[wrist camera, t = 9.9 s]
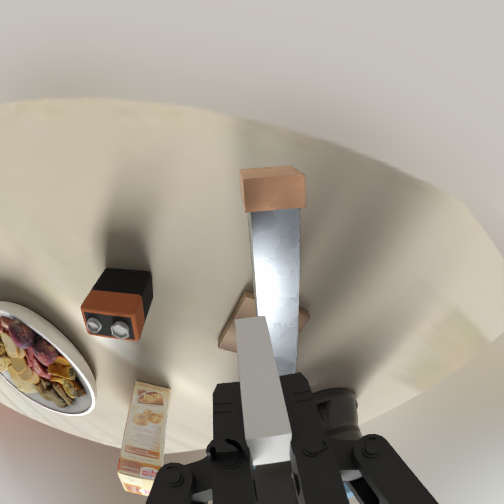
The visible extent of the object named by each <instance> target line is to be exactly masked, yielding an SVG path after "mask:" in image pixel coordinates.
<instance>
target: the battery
mask: <svg viewBox="0 0 504 504" xmlns="http://www.w3.org/2000/svg"><path fill="white" fill-rule="evenodd" d="M152 299H153V291H152V279H151V273H150V272H147V271H134V270H122V269H109V268H107V269H105V270H104V272H103V273H102V275H101V276H100V278H99V279H98V280H97V282H96V283H95V285H94V286H93V288H92V290H91V291H90V293H89V294H88V296H87V297H86V299H85V300H84V302H83V304H82V305H81V311H82V315H83V319H84V322H85V325H86V329H87V332H88V334H90V335H96V336H102V337H109V338H116V339H121V340H122V339H123V340H131V341H138V340H139V339H140V336H141V333H142V330H143V326H144V323H145V320H146V317H147V314H148V311H149V308H150V305H151V302H152Z"/></svg>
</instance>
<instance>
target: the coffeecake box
mask: <svg viewBox="0 0 504 504" xmlns="http://www.w3.org/2000/svg"><path fill="white" fill-rule="evenodd" d="M170 390H171V389H170V388H165V387H160V386H156V385H152V384H148V383H144V382H140V381H135V386H134V390H133V395H132V399H131V403H130V408H129V412H128V417H127V422H126V426H125V431H124V437H123V442H122V447H121V453H120V459H119V464H118V471H117V473H118V476H119V478H120V480H121V482H122V485H123V487H124V489H125V491H128V492H132V493H136V494H140V495H146V496H149V493H150V490H151V488H152V485H153V482H154V479H155V477H156V474H157V472H158V470H159V469H160V468H161V467H162V466H163V457H164V447H165V437H166V428H167V417H168V407H169V398H170Z"/></svg>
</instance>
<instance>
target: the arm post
mask: <svg viewBox="0 0 504 504" xmlns="http://www.w3.org/2000/svg"><path fill="white" fill-rule="evenodd" d="M250 317H256V312H255V300H254V293H251V292H248V291H244V293H243V295H242V297H241V299H240V301H239V303H238V305H237V307H236V308H235V310H234V312H233V314H232V316H231V318H230V320H229V322H228V323H227V325H226V327H225V329H224V331H223V333H222V335H221V336H220V338H219V340H218V348H220V349H224V350H228V351H232V352H236V353H237V341H236V329H235V319H242V318H250ZM309 318H310V315H309V313H308V311H307V310H304V309H301V308H299V315H298V333H299V332H300V331H301V329H302V328H303V326H304V325H305V324H306V322H307V321H308V319H309Z"/></svg>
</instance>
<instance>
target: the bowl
mask: <svg viewBox="0 0 504 504" xmlns="http://www.w3.org/2000/svg"><path fill="white" fill-rule="evenodd" d="M0 375H1V376H2V377H3V378H4V379H5V380H6V381H7V382H8V383H9V384H10V385H11V386H12V387H13V388H15V389H16V390H17V391H18V392H20V393H21V394H22V395H24V396H25V397H26V398H28V399H29V400H31V401H33V402H34V403H36V404H38V405H40V406H42V407H44V408H46V409H48V410H51V411H54V412H57V413H60V414H64V415H71V416H80V415H85V414H87V413H89V412H91V411H92V410H93V408H94V406H95V403H96V398H97V388H96V383H95V379H94V376H93V374H92V372H91V370H90V368H89V366H88V364H87V362H86V361H85V359H84V358H83V357H82V355H81V354H80V352H79V351H78V350H77V349H76V347H75V346H74V345H73V344H72V343H71V342H70V341H69V340H68V339H67V338H66V337H65V336H64V335H63V334H62V333H61V332H60V331H59V330H58V329H57V328H55V327H54V326H53V325H52V324H51V323H49V322H48V321H47V320H45V319H44V318H43V317H41V316H40V315H38V314H36V313H35V312H33V311H31V310H29V309H28V308H25V307H23V306H21V305H18V304H15V303H12V302H6V301H0Z"/></svg>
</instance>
